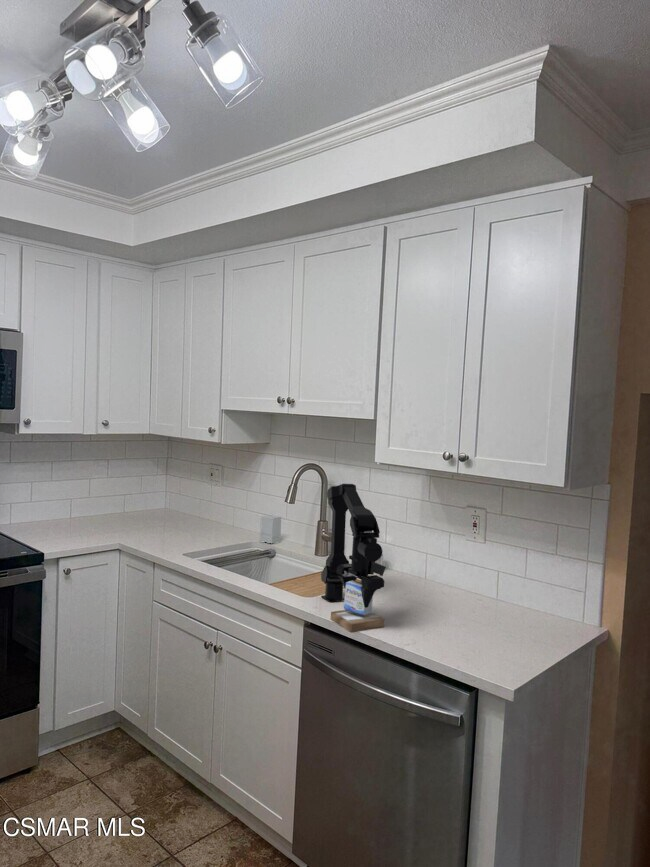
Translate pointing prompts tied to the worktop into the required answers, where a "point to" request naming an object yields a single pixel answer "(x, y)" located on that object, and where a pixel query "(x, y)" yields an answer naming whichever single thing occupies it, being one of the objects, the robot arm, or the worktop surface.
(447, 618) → the worktop surface
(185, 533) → the worktop surface
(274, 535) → the supplement box
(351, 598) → the medicine box
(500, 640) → the worktop surface
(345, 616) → the brown open-top box
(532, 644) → the worktop surface
